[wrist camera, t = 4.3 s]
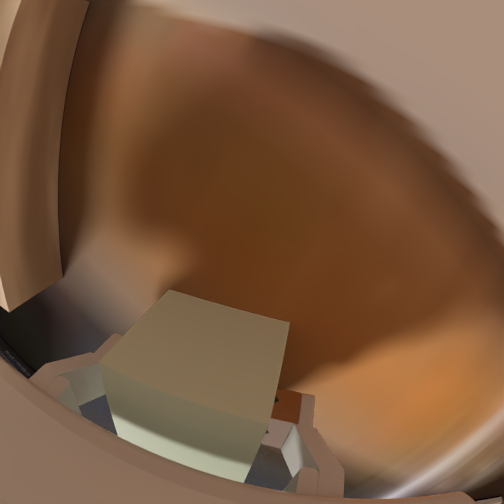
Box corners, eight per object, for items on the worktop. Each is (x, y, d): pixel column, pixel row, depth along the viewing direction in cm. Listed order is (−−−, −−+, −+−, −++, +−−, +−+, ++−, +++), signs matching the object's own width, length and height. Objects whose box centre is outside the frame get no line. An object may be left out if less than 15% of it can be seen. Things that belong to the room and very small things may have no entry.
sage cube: (290, 321, 11) (269, 423, 7) (264, 401, 13) (240, 488, 8) (170, 288, 12) (98, 362, 7) (168, 372, 14) (121, 444, 9)
